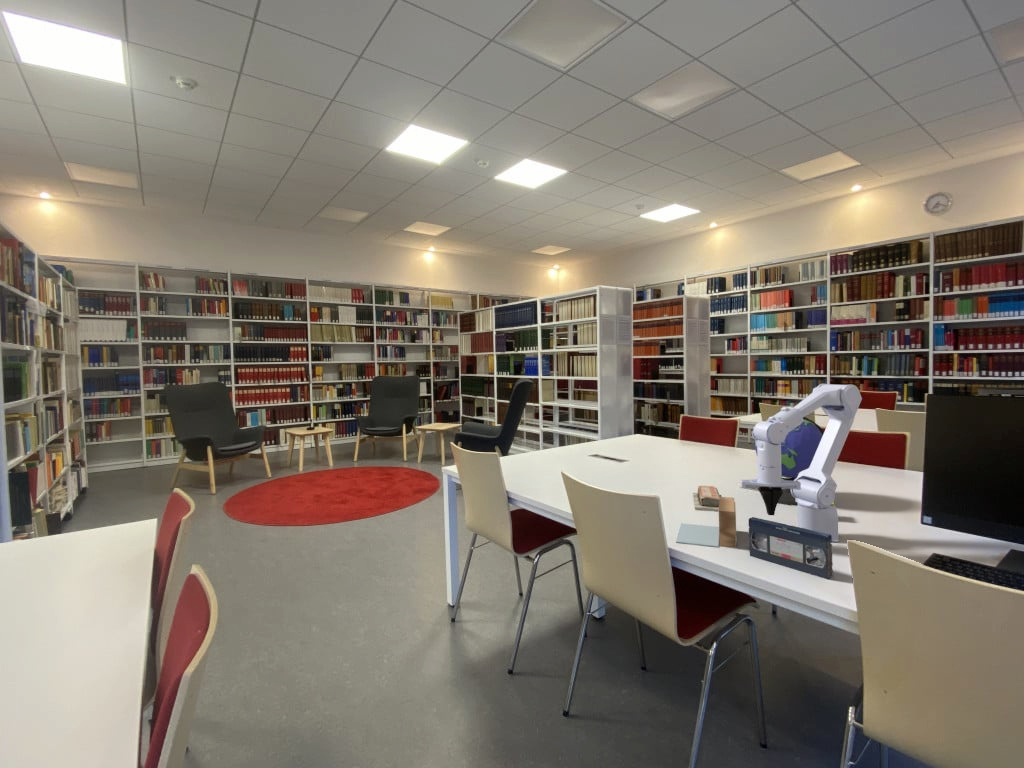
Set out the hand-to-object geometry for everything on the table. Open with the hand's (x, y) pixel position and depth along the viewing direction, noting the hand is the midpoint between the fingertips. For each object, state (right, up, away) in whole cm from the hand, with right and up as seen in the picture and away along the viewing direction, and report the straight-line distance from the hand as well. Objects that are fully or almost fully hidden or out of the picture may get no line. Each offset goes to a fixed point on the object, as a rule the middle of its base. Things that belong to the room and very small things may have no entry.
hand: (770, 514), depth 130 cm
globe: (+29, -5, +39) cm, 49 cm away
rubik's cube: (+26, -6, +18) cm, 32 cm away
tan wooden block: (-10, -8, +5) cm, 14 cm away
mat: (-17, -8, +8) cm, 20 cm away
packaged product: (-1, -7, +38) cm, 39 cm away
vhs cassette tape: (-3, -9, -14) cm, 17 cm away
